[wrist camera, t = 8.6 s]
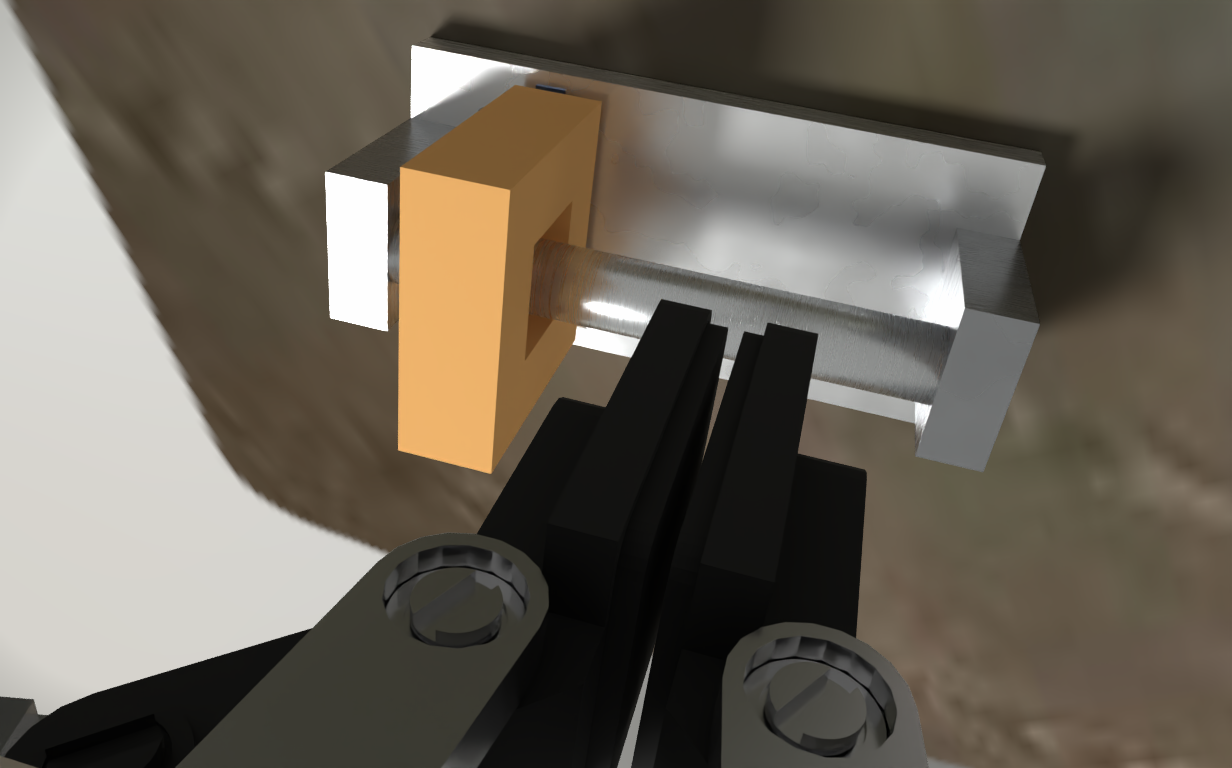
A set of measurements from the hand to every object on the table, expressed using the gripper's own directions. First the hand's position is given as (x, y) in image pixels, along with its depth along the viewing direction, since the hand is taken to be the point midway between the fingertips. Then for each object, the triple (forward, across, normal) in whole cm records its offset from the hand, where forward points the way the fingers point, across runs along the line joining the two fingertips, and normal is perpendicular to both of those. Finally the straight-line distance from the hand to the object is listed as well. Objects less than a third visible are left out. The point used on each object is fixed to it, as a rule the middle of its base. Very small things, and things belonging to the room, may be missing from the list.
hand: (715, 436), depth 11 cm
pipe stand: (+25, +4, +8) cm, 27 cm away
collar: (+23, +9, +8) cm, 26 cm away
